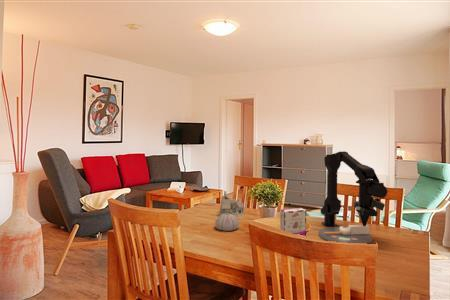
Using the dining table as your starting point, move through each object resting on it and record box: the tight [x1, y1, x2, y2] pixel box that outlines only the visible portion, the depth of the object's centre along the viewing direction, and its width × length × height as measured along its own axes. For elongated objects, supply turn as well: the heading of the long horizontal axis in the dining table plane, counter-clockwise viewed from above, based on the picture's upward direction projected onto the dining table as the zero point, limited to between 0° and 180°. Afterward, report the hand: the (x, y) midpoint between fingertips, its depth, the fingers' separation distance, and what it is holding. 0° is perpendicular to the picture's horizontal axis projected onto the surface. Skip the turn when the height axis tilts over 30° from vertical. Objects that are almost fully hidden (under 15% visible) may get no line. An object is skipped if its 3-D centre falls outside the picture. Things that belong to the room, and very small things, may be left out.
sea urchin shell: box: [214, 213, 240, 232], centre depth 168 cm, size 13×14×8 cm
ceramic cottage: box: [217, 190, 245, 218], centre depth 195 cm, size 16×16×15 cm
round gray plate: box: [318, 226, 373, 245], centre depth 154 cm, size 25×25×2 cm
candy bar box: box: [279, 207, 307, 237], centre depth 143 cm, size 11×5×16 cm, turn 105°
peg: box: [324, 224, 370, 235], centre depth 154 cm, size 22×5×4 cm, turn 95°
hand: (364, 226), depth 149 cm, fingers closed
